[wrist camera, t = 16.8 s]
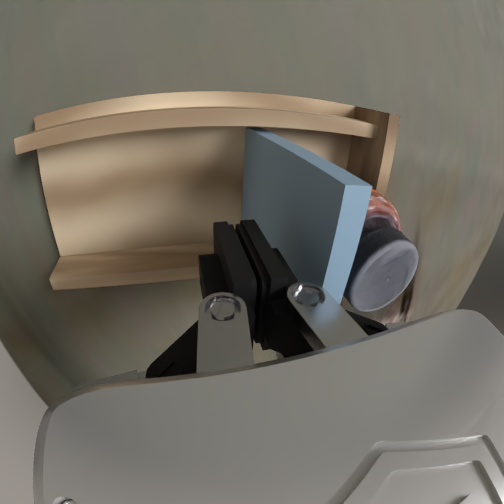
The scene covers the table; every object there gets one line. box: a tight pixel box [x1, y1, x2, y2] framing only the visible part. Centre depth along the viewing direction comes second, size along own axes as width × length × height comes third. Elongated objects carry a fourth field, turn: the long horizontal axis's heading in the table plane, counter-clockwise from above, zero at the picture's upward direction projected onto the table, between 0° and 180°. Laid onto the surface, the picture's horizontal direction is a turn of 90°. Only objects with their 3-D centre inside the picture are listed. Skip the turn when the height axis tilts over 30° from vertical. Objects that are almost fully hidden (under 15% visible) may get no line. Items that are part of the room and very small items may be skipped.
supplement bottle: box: [343, 189, 418, 312], centre depth 16 cm, size 6×6×11 cm
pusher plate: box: [241, 127, 372, 304], centre depth 14 cm, size 8×1×12 cm, turn 176°
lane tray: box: [14, 91, 400, 290], centre depth 17 cm, size 13×24×5 cm, turn 86°
